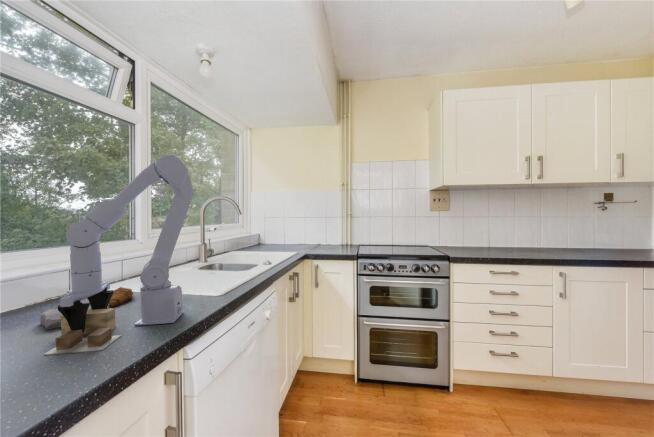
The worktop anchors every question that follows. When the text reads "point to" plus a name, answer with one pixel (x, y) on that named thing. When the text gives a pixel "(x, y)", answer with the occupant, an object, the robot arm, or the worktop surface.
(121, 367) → the worktop surface
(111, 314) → the lintel
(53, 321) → the stone block
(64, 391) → the worktop surface
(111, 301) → the croissant
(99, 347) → the base with blocks
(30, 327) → the worktop surface
